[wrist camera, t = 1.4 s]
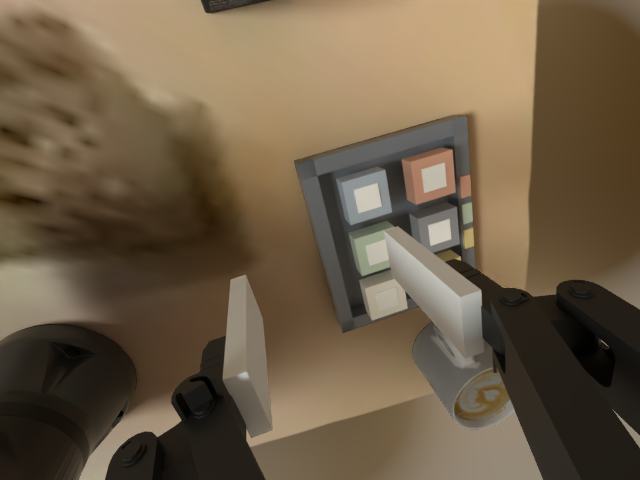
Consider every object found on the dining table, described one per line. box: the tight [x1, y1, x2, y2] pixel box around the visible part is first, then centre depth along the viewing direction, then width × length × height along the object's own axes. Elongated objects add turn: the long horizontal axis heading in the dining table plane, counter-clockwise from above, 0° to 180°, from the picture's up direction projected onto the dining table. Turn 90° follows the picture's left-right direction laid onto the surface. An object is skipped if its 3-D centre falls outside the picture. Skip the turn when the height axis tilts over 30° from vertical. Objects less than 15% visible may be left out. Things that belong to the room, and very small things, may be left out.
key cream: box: [359, 270, 408, 321], centre depth 38 cm, size 4×4×2 cm
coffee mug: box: [413, 322, 515, 430], centre depth 43 cm, size 13×10×10 cm
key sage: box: [349, 221, 394, 276], centre depth 35 cm, size 4×4×2 cm
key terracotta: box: [402, 147, 456, 205], centre depth 34 cm, size 4×4×2 cm
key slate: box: [336, 166, 392, 225], centre depth 33 cm, size 4×4×2 cm
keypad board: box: [294, 115, 476, 333], centre depth 38 cm, size 18×21×3 cm
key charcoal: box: [409, 202, 460, 253], centre depth 36 cm, size 4×4×2 cm
